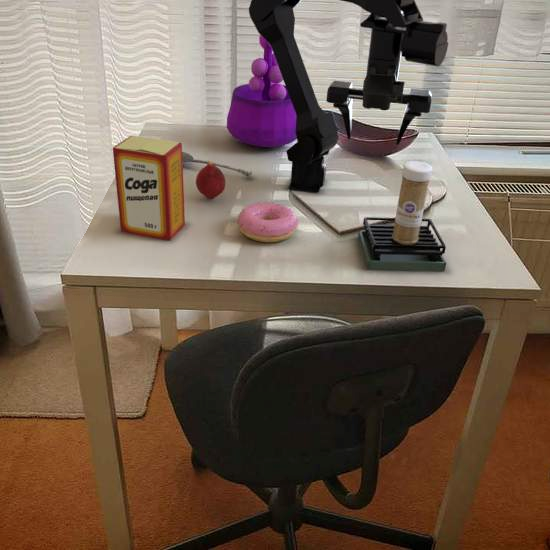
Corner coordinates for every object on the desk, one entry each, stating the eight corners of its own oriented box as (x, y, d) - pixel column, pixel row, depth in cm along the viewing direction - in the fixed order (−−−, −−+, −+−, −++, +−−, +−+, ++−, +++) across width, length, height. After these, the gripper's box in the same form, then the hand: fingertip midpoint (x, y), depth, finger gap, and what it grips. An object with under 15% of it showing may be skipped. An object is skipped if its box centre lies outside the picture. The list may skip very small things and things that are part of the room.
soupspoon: (169, 159, 141) (154, 169, 136) (168, 145, 139) (152, 155, 134) (256, 173, 134) (244, 185, 129) (256, 158, 132) (244, 170, 127)
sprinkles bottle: (392, 244, 102) (405, 169, 95) (390, 232, 106) (402, 159, 99) (420, 247, 102) (434, 171, 95) (416, 234, 106) (430, 161, 99)
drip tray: (367, 269, 101) (368, 261, 100) (357, 238, 110) (358, 230, 110) (444, 271, 102) (446, 263, 101) (428, 239, 111) (429, 231, 110)
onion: (230, 197, 123) (230, 159, 119) (216, 207, 118) (216, 169, 114) (205, 191, 125) (205, 153, 121) (190, 201, 120) (189, 163, 116)
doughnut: (308, 237, 110) (310, 216, 107) (256, 251, 104) (257, 230, 102) (276, 213, 117) (277, 193, 115) (226, 225, 112) (226, 205, 110)
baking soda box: (121, 231, 108) (112, 145, 100) (137, 216, 114) (130, 133, 105) (170, 240, 106) (165, 153, 98) (184, 224, 112) (181, 140, 103)
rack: (370, 266, 101) (373, 244, 99) (361, 237, 110) (363, 217, 108) (441, 267, 102) (446, 246, 100) (426, 238, 110) (430, 218, 108)
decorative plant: (221, 131, 157) (221, 5, 141) (290, 128, 161) (298, 6, 145) (234, 157, 141) (236, 19, 125) (311, 154, 145) (321, 20, 130)
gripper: (325, 61, 103) (318, 149, 111) (437, 72, 100) (421, 162, 108) (334, 48, 112) (327, 130, 120) (437, 58, 109) (422, 142, 117)
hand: (373, 141), depth 116 cm, fingers open, 9 cm apart
